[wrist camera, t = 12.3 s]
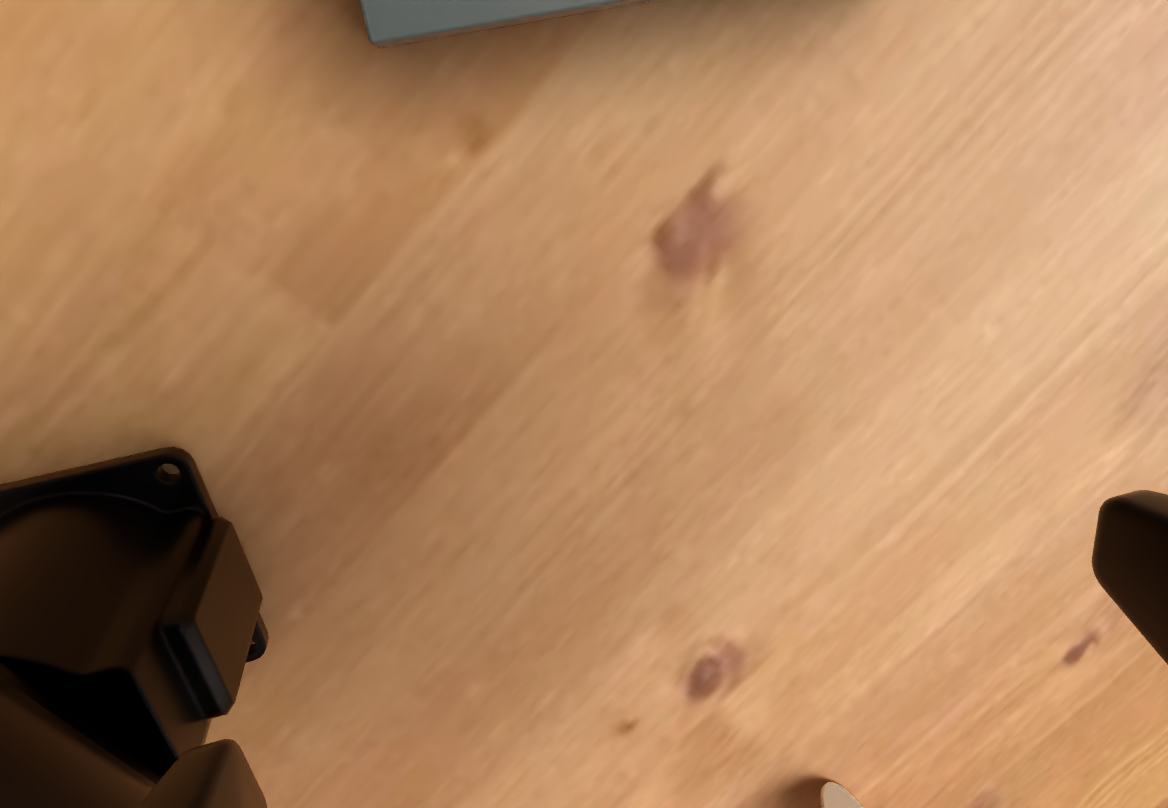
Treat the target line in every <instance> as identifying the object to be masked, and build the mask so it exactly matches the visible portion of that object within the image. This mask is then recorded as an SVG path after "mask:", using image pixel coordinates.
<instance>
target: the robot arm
mask: <svg viewBox="0 0 1168 808" xmlns="http://www.w3.org/2000/svg"><path fill="white" fill-rule="evenodd" d="M163 464H172V465H175V466H177V468H178V469H179V470H180V473H179V474H169V473H167V472H165V471H164V469H163V468H162V465H163ZM1092 567H1093V571H1094V574H1095V576H1096V578H1097V580H1098V582H1099V583H1100V585H1101V586H1102V587H1103V589H1104V590H1105V591H1106V592H1107V593H1108V595H1109V596H1110V597H1111V598H1112V599H1113V600H1114V602H1115V603H1116V604H1117V605H1118V606H1119V608H1120V609H1121V610H1122V611H1123V612H1124V613H1125V615H1126V616H1127V617H1128V618H1129V619H1130V621H1131V622H1132V623H1133V624H1134V625H1135V627H1136V628H1137V629H1138V630H1139V631H1140V632H1141V634H1142V635H1143V636H1144V637H1145V638H1146V640H1147V641H1148V642H1149V643H1150V644H1151V645H1152V647H1153V648H1154V649H1155V650H1156V651H1157V653H1158V654H1159V655H1160V656H1161V657H1162V658H1163V660H1164V661H1165V662H1166V663H1167V664H1168V495H1166V494H1162V493H1158V492H1154V491H1148V490H1139V491H1134V492H1130V493H1127V494H1123V495H1119V496H1116V497H1112V498H1109V499H1108V500H1106V501H1105V502H1104V503H1103V505H1102V506H1101V508H1100V511H1099V515H1098V522H1097V529H1096V535H1095V542H1094V548H1093V555H1092ZM261 602H262V594H261V591H260V589H259V587H258V584H257V582H256V579H255V577H254V575H253V572H252V570H251V568H250V565H249V563H248V560H247V558H246V556H245V553H244V551H243V549H242V546H241V544H240V541H239V539H238V537H237V534H236V532H235V530H234V527H233V525H232V523H231V522H229V521H228V520H226V519H224V518H223V517H218V515H217V513H216V511H215V508H214V506H213V504H212V501H211V499H210V497H209V494H208V492H207V490H206V487H205V485H204V483H203V480H202V478H201V476H200V473H199V471H198V469H197V466H196V464H195V462H194V460H193V458H192V457H191V455H190V454H189V453H187V452H186V451H184V450H183V449H179V448H175V447H167V448H161V449H157V450H152V451H148V452H144V453H139V454H135V455H130V456H126V457H122V458H117V459H113V460H108V461H104V462H100V463H95V464H91V465H86V466H82V467H78V468H73V469H69V470H64V471H60V472H56V473H51V474H47V475H42V476H38V477H34V478H29V479H25V480H20V481H16V482H12V483H7V484H3V485H0V808H267V804H266V801H265V797H264V795H263V793H262V791H261V789H260V787H259V785H258V782H257V780H256V778H255V776H254V774H253V772H252V770H251V768H250V766H249V764H248V762H247V760H246V758H245V756H244V754H243V752H242V750H241V748H240V746H239V745H238V744H237V743H236V742H235V741H233V740H230V739H224V740H220V741H216V742H213V743H209V744H205V745H204V743H205V740H206V736H207V733H208V729H209V726H210V723H211V719H212V718H215V717H219V716H223V715H227V714H228V712H229V711H230V709H231V707H232V706H233V704H234V703H235V700H236V697H237V693H238V689H239V685H240V681H241V678H242V674H243V670H244V666H245V663H246V662H250V661H253V660H256V659H258V658H260V657H261V656H262V655H263V654H264V652H265V650H266V647H267V642H268V638H269V637H268V632H267V629H266V627H265V625H264V622H263V620H262V618H261V615H260V613H259V610H260V606H261ZM251 640H252V641H254V642H255V643H254V644H251Z"/></svg>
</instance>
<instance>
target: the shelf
mask: <svg viewBox="0 0 1168 808" xmlns="http://www.w3.org/2000/svg"><path fill="white" fill-rule="evenodd" d="M651 1H657V0H359V2H360V6H361V10H362V14H363V18H364V22H365V26H366V30H367V34H368V38H369V41H370V42H371V43H372V44H374V45H376V46H378V47H379V48H385V47H391V46H396V45H402V44H408V43H414V42H420V41H425V40H431V39H437V38H443V37H449V36H454V35H460V34H466V33H472V32H477V31H483V30H489V29H495V28H501V27H506V26H512V25H518V24H524V23H530V22H535V21H541V20H547V19H553V18H558V17H564V16H570V15H576V14H582V13H587V12H593V11H599V10H605V9H611V8H616V7H622V6H628V5H634V4H639V3H645V2H651Z"/></svg>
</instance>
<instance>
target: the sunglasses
mask: <svg viewBox="0 0 1168 808" xmlns="http://www.w3.org/2000/svg"><path fill="white" fill-rule="evenodd" d="M821 807H822V808H863V806H862V805H861V804H860V803H859V802H858V800H857V799H856V798H855V797H854V796H853V795H852V794H851V793H850V792H849V791H848V790H846V789H845V788H844V787H843V786H841V785H839V784H837V783H834V782H828V783H826V784H824V786H823V787H822V789H821Z"/></svg>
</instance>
